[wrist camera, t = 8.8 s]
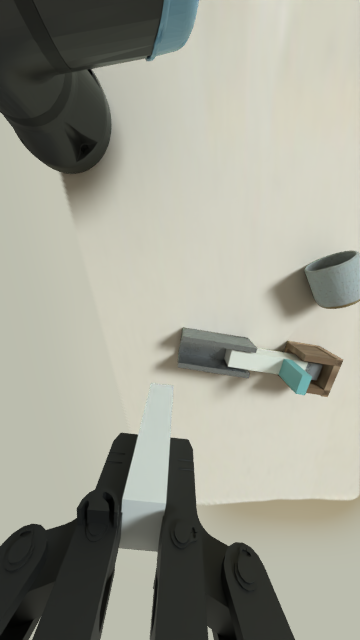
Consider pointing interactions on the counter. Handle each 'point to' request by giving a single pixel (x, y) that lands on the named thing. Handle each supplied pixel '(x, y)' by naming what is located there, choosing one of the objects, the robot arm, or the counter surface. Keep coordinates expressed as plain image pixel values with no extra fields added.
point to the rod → (276, 366)
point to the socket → (317, 356)
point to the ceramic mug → (335, 279)
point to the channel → (211, 351)
